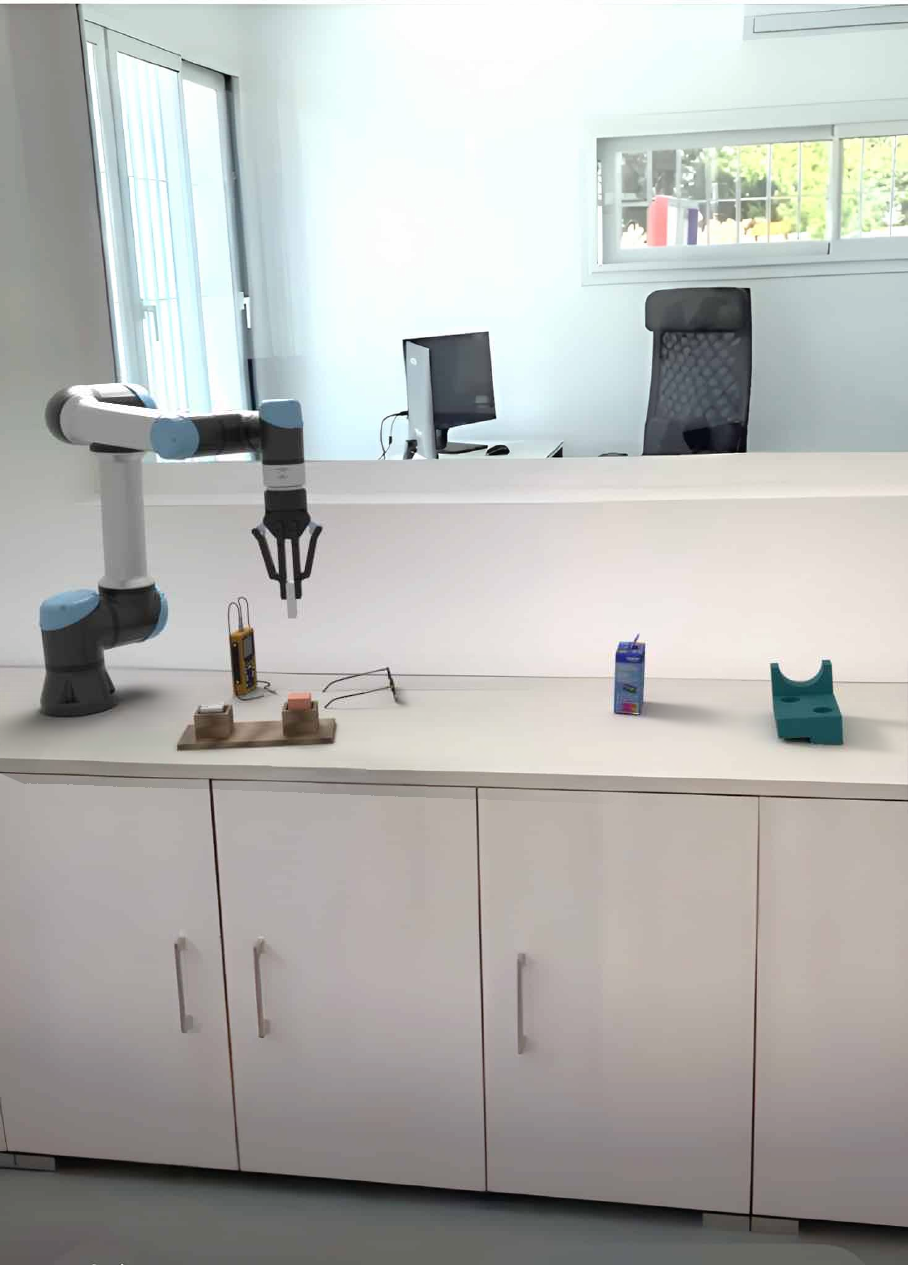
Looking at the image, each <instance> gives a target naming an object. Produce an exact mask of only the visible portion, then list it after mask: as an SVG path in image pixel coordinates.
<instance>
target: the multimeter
mask: <svg viewBox="0 0 908 1265" xmlns="http://www.w3.org/2000/svg"><path fill="white" fill-rule="evenodd" d="M240 599H243V600H245V602H246V608H247V609H246V612H247V614H246V615H247V623H248V627H244V623H243V614H242V606H241V604H240ZM237 603H238V604H237ZM237 603H236V602H234V601H232V602H230V603H229V605H228V609H227V624H228V640H229V653H230V664H231V665H230V668H231V669H230V670H231V679H232V690H233V691H232V692H233V694H234V695H236V698H238V699H239V700H242V701H250V700H254V699H259V698H263V697H265V696H268V695H270V694H273V693H274V694H278V695H280V693H279V692H277V691H276V690H274V689H273V688H267V687H269V686H270V685H271V683H270V682H269V681H264V680H258V675H257V659H256V645H255V644H256V643H255V631H254V628H253V627H251V625H250V616H249V615H250V613H249V603H248V600H247V598H246V597H244V596H239V597H238V598H237ZM233 604H234V605H235V606H236V608H237V611H238V618H237V619H238V629H236V630H235V631H234V632H232V633H231V628H230V608H231V605H233ZM258 683H267V684H268V685H267V684H266V685H265V686H264V687H263V688H264V690H265V689H266V690H268V692H269V693H262V694H259V695H258V694H257V695H255V696H252V697H249V698H241V697H240V696H239V695H247V694H248V693H249V692H250V691H252V690H253V689H255V688H257V686H258ZM271 692H272V693H271Z"/></svg>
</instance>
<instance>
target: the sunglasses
mask: <svg viewBox="0 0 908 1265" xmlns="http://www.w3.org/2000/svg"><path fill="white" fill-rule="evenodd" d="M383 671H386V673H387V679H388V680H389V685H387V686H384V687H381V688H377V689H372V690H368V691H362V692H357V693H353V694H348V695H343V696H339V697H335V698H333V699H332V700H330V701H329V702H328V703H327V704H326V705H324V707H323V709H324V708H325V709H326V708H327V707H328V706H329V705H330V704H332V703H333V702H335V701H337V700H340V699H345V698H350V697H356V696H360V695H366V694H369V693H373V692H378V691H382V690H388V689H391V692H392V695H393V696H392V697H393V699H394V702H395V703H396V702H397V701H396V700H397V698H396V688H395V682H394V679H393V677H392V674H391V670H390V667H388V666H386V668H380V669H376V670H371V671H367V672H362V673H360V674H355V675H349V676H347V677H343V678H340V679H336V680H334V681H331V682H330V683H328V684H327V686H325V688H324V689H323V690H322V691H321V693H325V692H326V691H327V689H328V688H329V687H331V685H333V684H335V683H338V682H341V681H344V680H348V679H351V678H356V677H360V676H364V675H369V674H372V673H373V674H374V673H377V672H383Z"/></svg>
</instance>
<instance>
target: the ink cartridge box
mask: <svg viewBox="0 0 908 1265" xmlns="http://www.w3.org/2000/svg"><path fill="white" fill-rule="evenodd" d="M639 637H640V633H638V634H637V635H636V636H635V638H634V640H633V641H619V642H618V645H617V649H616V651H615V654H614V655H615V657H614V660H615V661H614V680H613V681H614V684H613V686H614V687H613V688H614V689H613V691H614V692H613V713H614V714H616V713H617V714H625V713H640V712H641V713H642V710H641V708H643V706H642V705H644V702H643V701H644V692H645V691H644V690H645V675H646V674H645V672H646V671H645V669H646V668H645V667H646V666H645V665H646V642H639V641H638V640H639ZM641 713H640V714H641Z"/></svg>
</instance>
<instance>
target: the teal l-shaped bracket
mask: <svg viewBox="0 0 908 1265" xmlns="http://www.w3.org/2000/svg"><path fill="white" fill-rule="evenodd" d="M779 665H780V664H779V663H778V662H772V663H771V662H770V664H769V667H770V680H771V681H770V682H771V684H770V685H771V694H772V695H771V696H772V697H771V698H772V709H773V716H774V722H775V727H776V728H775V729H776V732H777V737H778V738H777V739H781V740H782V739H798V738H799V739H800V738H808V739H809V738H810V739H809V741H810V742H811V743H813V744H812V745H820V744H822V745H840V744H844V731H843V729H844V728H843V715H842V712H841V710H840V707H839V704H838V702H837V699H836V696H835V694H834V680H833V677H834V676H833V663H832V661H831V659H822V660H821V666H820V668H819V670H818V672H817V673H816V675H814V676H813V677H811V678H810V679H808V680H804V681H796V680H791V679H790V678H788V677H787V676H785V675H784V674H783V673H782V671H781V669H780V666H779ZM811 743H810V744H811Z"/></svg>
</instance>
